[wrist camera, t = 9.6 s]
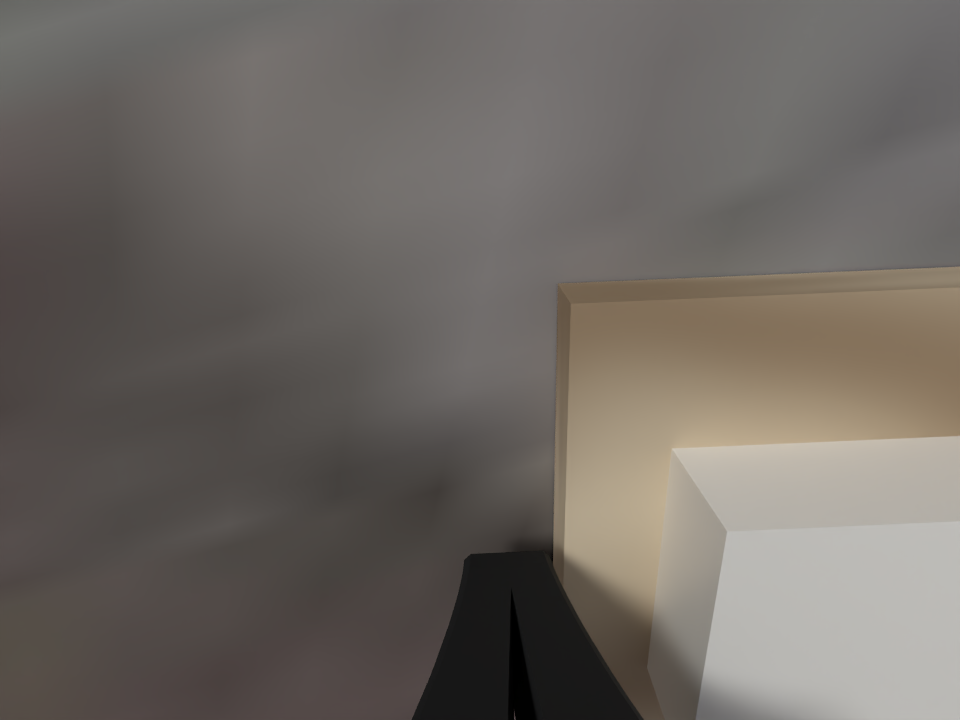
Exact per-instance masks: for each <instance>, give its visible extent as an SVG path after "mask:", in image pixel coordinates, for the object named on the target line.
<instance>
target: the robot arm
mask: <svg viewBox="0 0 960 720" xmlns="http://www.w3.org/2000/svg"><path fill="white" fill-rule="evenodd" d="M514 711H515V717H516V720H644V719H643V718H642V716H641V715H640V713H639V712H638V710H637V709H636V707H635V706H634V705H633V703H632V702H631V700H630V699H629V697H628V696H627V694H626V693H625V691H624V690H623V688H622V687H621V685H620V684H619V682H618V681H617V679H616V678H615V676H614V675H613V673H612V672H611V670H610V668H609V667H608V665H607V663H606V662H605V660H604V659H603V657H602V655H601V654H600V652H599V650H598V649H597V647H596V646H595V644H594V642H593V641H592V639H591V637H590V636H589V634H588V632H587V631H586V629H585V627H584V625H583V624H582V622H581V620H580V618H579V617H578V615H577V613H576V611H575V609H574V607H573V605H572V604H571V602H570V600H569V598H568V596H567V594H566V592H565V590H564V588H563V586H562V584H561V582H560V580H559V578H558V576H557V573H556V571H555V569H554V567H553V564H552V562H551V559H550V556H549V555H547V554H546V553H545V552H544V551H528V552H506V553H485V554H470V555H469V556H468V557H467V558H466V559H465V560H464V568H463V574H462V579H461V584H460V588H459V592H458V596H457V600H456V603H455V607H454V610H453V613H452V617H451V620H450V623H449V626H448V629H447V632H446V635H445V637H444V640H443V643H442V646H441V649H440V651H439V654H438V657H437V660H436V663H435V665H434V668H433V670H432V673H431V676H430V678H429V681H428V683H427V685H426V688H425V690H424V692H423V695H422V697H421V699H420V702H419V704H418V706H417V709H416V711H415V713H414V716H413V718H412V720H514Z"/></svg>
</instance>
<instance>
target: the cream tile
mask: <svg viewBox="0 0 960 720" xmlns="http://www.w3.org/2000/svg"><path fill="white" fill-rule="evenodd" d="M647 669H648V672H649V675H650V678H651V681H652V684H653V687H654V690H655V693H656V695H657V698H658V701H659V704H660V707H661V710H662V713H663V716H664V719H665V720H960V436H948V437H925V438H902V439H879V440H856V441H833V442H810V443H787V444H764V445H742V446H719V447H696V448H673V449H672V450H671V459H670V468H669V477H668V486H667V495H666V504H665V513H664V522H663V530H662V539H661V548H660V557H659V566H658V575H657V584H656V593H655V602H654V611H653V620H652V629H651V638H650V647H649V655H648V664H647Z"/></svg>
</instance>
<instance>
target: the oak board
mask: <svg viewBox="0 0 960 720" xmlns="http://www.w3.org/2000/svg"><path fill="white" fill-rule="evenodd" d="M948 436H960V267H942V268H918V269H894V270H871V271H847V272H823V273H799V274H775V275H752V276H728V277H704V278H680V279H656V280H633V281H609V282H585V283H561V284H558V306H557V364H556V422H555V480H554V538H553V567H554V569H555V571H556V573H557V576H558V578H559V580H560V582H561V584H562V586H563V588H564V590H565V592H566V594H567V596H568V598H569V600H570V602H571V604H572V605H573V607H574V609H575V611H576V613H577V615H578V617H579V618H580V620H581V622H582V624H583V625H584V627H585V629H586V631H587V632H588V634H589V636H590V637H591V639H592V641H593V642H594V644H595V646H596V647H597V649H598V650H599V652H600V654H601V655H602V657H603V659H604V660H605V662H606V663H607V665H608V667H609V668H610V670H611V672H612V673H613V675H614V676H615V678H616V679H617V681H618V682H619V684H620V685H621V687H622V688H623V690H624V691H625V693H626V694H627V696H628V697H629V699H630V700H631V702H632V703H633V705H634V706H635V707H636V709H637V710H638V712H639V713H640V715H641V716H642V718H643V719H644V720H665V719H664V716H663V713H662V710H661V707H660V704H659V701H658V698H657V695H656V693H655V690H654V687H653V684H652V681H651V678H650V675H649V672H648V669H647V664H648V655H649V647H650V638H651V629H652V620H653V611H654V602H655V593H656V584H657V575H658V566H659V557H660V548H661V539H662V530H663V522H664V513H665V504H666V495H667V486H668V477H669V468H670V459H671V450H672V449H673V448H696V447H719V446H742V445H764V444H787V443H810V442H833V441H856V440H879V439H902V438H925V437H948Z"/></svg>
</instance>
